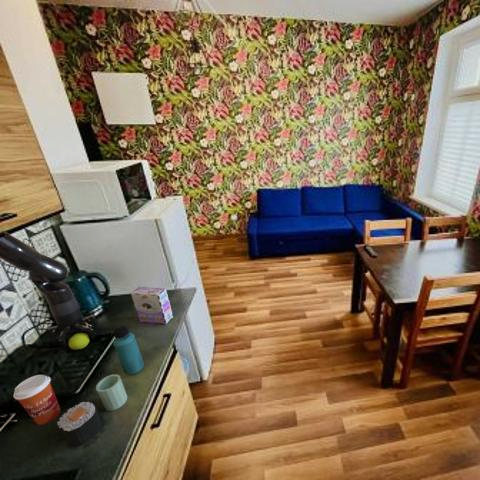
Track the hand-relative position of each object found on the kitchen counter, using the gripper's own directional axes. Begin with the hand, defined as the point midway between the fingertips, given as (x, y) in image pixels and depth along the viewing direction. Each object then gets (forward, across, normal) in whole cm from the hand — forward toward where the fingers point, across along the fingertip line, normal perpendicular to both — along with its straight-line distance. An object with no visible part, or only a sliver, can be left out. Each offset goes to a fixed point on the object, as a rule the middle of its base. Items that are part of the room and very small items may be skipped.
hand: (80, 341), depth 108 cm
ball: (0, 0, 0) cm, 0 cm away
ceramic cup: (+3, -11, +37) cm, 38 cm away
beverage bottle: (+3, -17, +26) cm, 31 cm away
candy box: (+3, -27, -2) cm, 27 cm away
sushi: (+3, -3, +43) cm, 43 cm away
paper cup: (+3, +6, +30) cm, 31 cm away
